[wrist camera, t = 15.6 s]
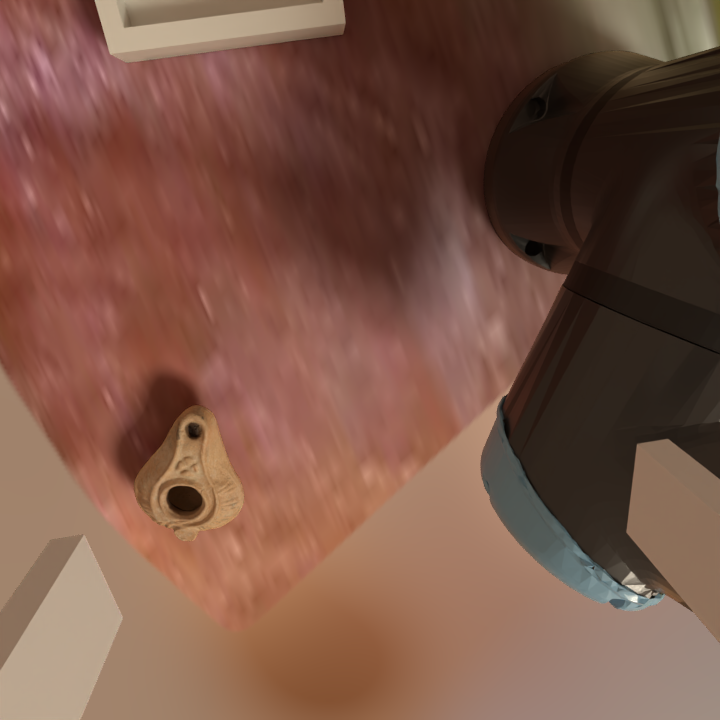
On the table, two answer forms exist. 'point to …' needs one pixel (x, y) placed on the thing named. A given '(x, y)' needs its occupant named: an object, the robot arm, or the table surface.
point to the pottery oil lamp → (190, 478)
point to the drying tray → (212, 25)
